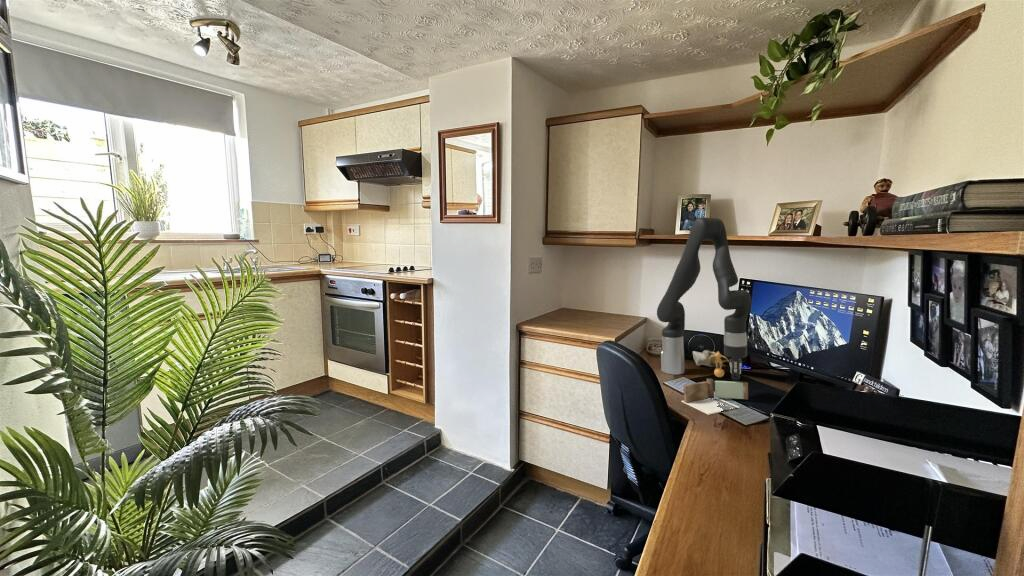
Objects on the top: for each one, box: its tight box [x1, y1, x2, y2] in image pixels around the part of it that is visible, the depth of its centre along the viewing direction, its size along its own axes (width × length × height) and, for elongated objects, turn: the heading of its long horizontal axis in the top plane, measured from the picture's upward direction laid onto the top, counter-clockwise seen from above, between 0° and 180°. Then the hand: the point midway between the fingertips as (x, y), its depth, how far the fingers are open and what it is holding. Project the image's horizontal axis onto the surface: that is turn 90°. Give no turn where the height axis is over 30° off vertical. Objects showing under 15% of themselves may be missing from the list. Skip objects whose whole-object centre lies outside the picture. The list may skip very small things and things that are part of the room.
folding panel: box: [714, 380, 749, 400], centre depth 146 cm, size 11×2×6 cm, turn 68°
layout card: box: [681, 398, 741, 416], centre depth 143 cm, size 14×14×1 cm
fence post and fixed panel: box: [683, 378, 715, 403], centre depth 147 cm, size 13×2×7 cm, turn 106°
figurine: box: [708, 350, 730, 378], centre depth 170 cm, size 8×6×12 cm
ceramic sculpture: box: [692, 349, 728, 369], centre depth 188 cm, size 11×9×15 cm
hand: (735, 387), depth 148 cm, fingers closed
